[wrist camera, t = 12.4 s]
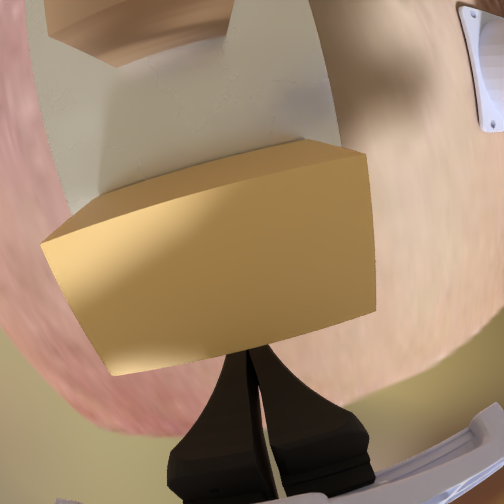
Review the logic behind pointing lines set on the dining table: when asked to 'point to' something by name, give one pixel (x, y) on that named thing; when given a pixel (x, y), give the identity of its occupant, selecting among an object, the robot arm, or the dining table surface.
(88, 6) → the brown wooden block
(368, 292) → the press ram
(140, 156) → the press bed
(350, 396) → the dining table surface
